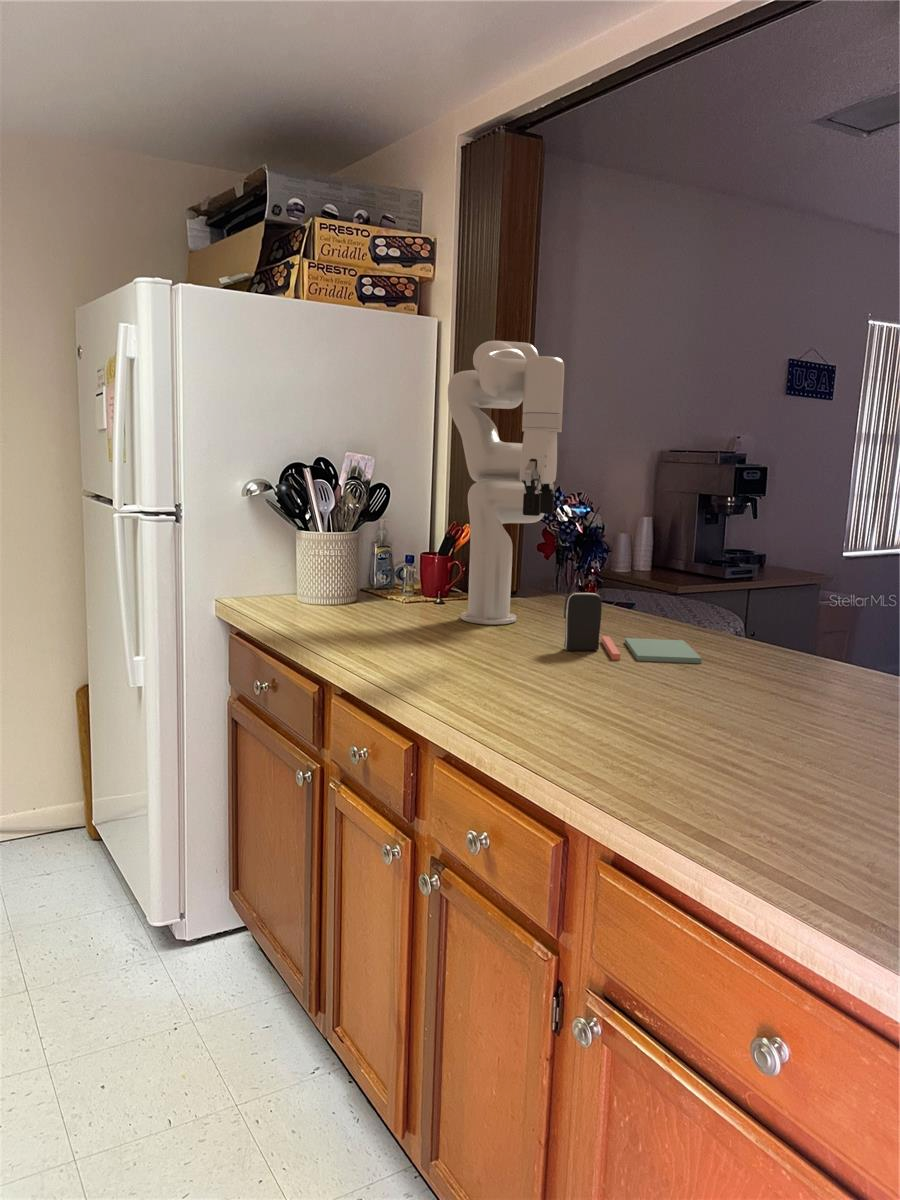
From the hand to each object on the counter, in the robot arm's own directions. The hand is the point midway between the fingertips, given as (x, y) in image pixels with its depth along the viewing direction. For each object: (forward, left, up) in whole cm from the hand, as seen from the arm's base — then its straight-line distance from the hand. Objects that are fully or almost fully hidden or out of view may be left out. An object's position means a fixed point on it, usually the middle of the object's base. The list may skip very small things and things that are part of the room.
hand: (538, 514), depth 177 cm
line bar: (-1, +15, -26) cm, 31 cm away
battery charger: (-1, +9, -27) cm, 28 cm away
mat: (-1, +26, -26) cm, 37 cm away
